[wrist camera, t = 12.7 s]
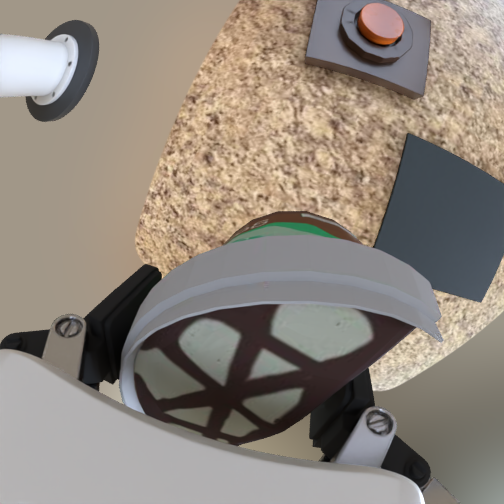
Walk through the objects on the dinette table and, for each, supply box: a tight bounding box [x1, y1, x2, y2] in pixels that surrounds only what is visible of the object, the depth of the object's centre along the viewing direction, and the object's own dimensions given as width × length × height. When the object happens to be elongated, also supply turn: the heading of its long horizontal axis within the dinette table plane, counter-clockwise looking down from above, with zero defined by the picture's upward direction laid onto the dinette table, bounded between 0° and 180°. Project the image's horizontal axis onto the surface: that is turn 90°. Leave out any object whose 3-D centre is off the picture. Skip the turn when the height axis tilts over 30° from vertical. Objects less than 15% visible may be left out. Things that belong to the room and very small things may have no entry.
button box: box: [305, 0, 431, 99], centre depth 18 cm, size 12×10×4 cm
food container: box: [119, 211, 443, 446], centre depth 11 cm, size 12×6×10 cm, turn 145°
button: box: [357, 3, 404, 45], centre depth 15 cm, size 4×4×2 cm
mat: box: [373, 133, 504, 302], centre depth 26 cm, size 20×16×1 cm
